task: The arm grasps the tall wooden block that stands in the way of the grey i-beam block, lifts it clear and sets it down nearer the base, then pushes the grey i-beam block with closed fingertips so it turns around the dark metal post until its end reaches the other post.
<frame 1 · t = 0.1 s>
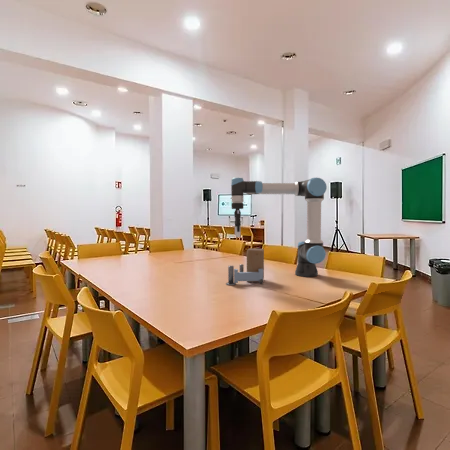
hand: (237, 236, 196), 28 cm above the table, fingers open, 13 cm apart
gate posts: (231, 284, 186), on the table
wooden block: (255, 281, 195), on the table
grey i-beam block: (248, 276, 186), point 5 cm above the table, hinge at 0.0°
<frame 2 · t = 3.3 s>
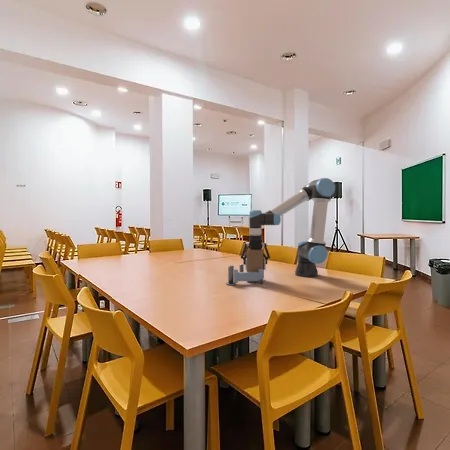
hand: (255, 269, 195), 7 cm above the table, fingers closed on wooden block, 11 cm apart
wooden block: (255, 281, 195), on the table, touching gripper
everything else where it was.
when the fingers open (9 cm above the table, at t = 9.2 s): wooden block drops 1 cm, on the table.
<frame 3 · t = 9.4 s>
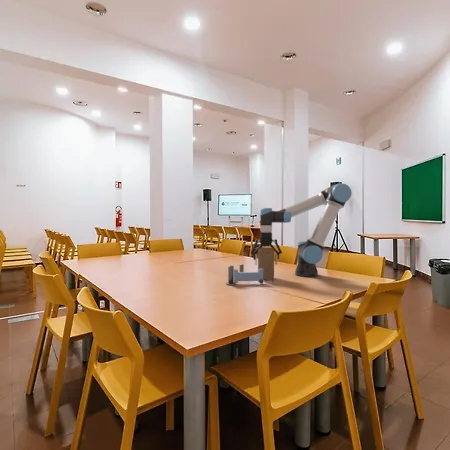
hand: (266, 264, 201), 9 cm above the table, fingers open, 13 cm apart
wooden block: (266, 279, 201), on the table
everything else where it was.
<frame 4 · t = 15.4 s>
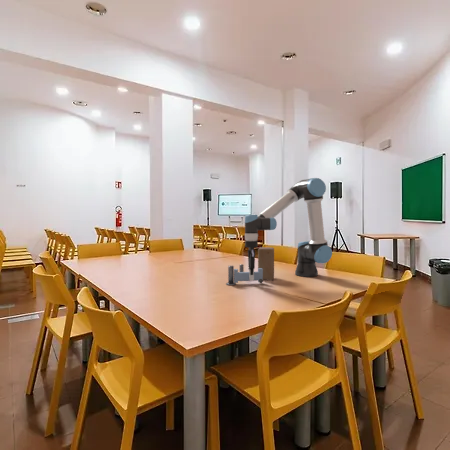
hand: (251, 280, 184), 3 cm above the table, fingers closed
grey i-beam block: (248, 275, 187), point 5 cm above the table, hinge at 4.2°, touching gripper
everything else where it was.
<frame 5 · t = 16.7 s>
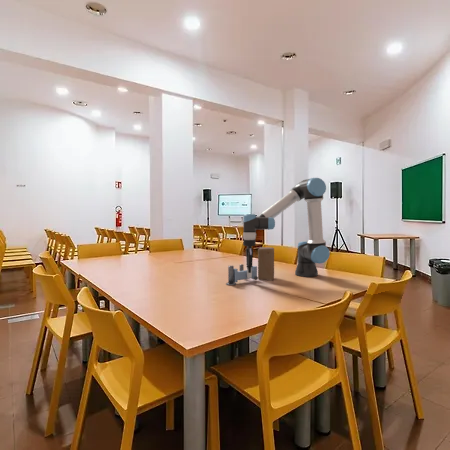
hand: (249, 277, 190), 3 cm above the table, fingers closed
grey i-beam block: (245, 274, 191), point 5 cm above the table, hinge at 30.6°, touching gripper
everything else where it was.
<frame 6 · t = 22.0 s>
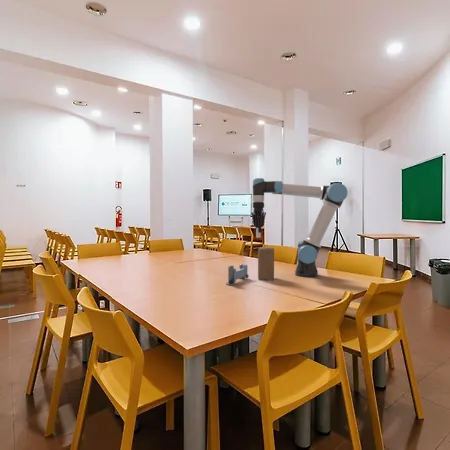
hand: (258, 237, 206), 26 cm above the table, fingers closed
grey i-beam block: (240, 273, 195), point 5 cm above the table, hinge at 55.2°, touching gate posts
everything else where it was.
at the end: grey i-beam block at +55° (first picture: +0°); wooden block inside the target area (0.0 cm from its centre), on the table; wooden block tilted 0° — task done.
